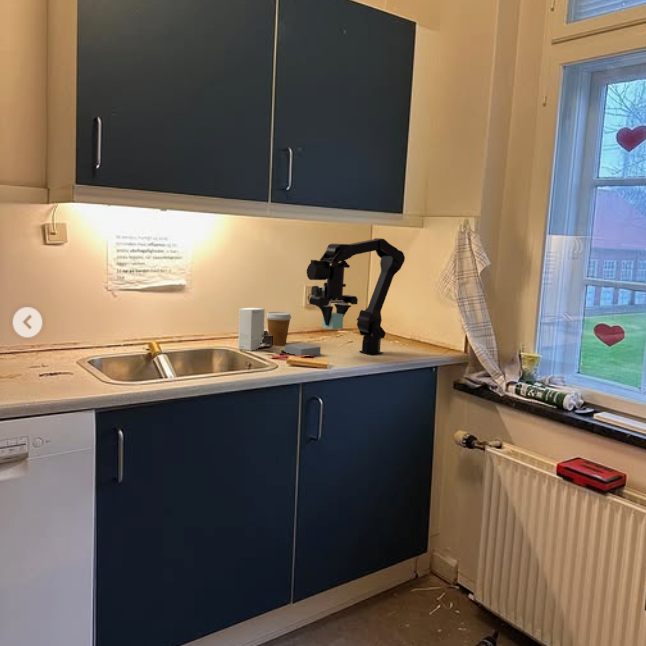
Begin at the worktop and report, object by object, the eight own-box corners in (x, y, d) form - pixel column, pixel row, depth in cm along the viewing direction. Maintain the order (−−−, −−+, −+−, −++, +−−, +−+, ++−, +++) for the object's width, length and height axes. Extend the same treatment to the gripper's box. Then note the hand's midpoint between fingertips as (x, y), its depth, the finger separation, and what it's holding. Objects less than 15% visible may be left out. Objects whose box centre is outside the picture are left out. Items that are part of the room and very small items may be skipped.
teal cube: (332, 326, 223) (333, 312, 222) (342, 328, 220) (343, 314, 219) (322, 327, 220) (323, 313, 219) (332, 329, 216) (333, 314, 215)
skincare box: (250, 351, 223) (252, 310, 221) (237, 349, 226) (238, 308, 224) (264, 348, 230) (265, 308, 228) (250, 346, 233) (252, 306, 231)
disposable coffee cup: (292, 343, 243) (293, 312, 241) (286, 347, 234) (288, 315, 232) (268, 341, 245) (269, 310, 243) (262, 345, 235) (263, 313, 234)
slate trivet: (303, 350, 229) (303, 342, 229) (320, 355, 223) (320, 346, 222) (284, 353, 223) (284, 344, 223) (300, 357, 216) (301, 349, 216)
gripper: (337, 278, 229) (334, 320, 232) (299, 278, 216) (297, 323, 219) (360, 281, 222) (357, 324, 224) (322, 281, 209) (319, 327, 211)
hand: (332, 324), depth 219 cm, fingers closed on teal cube, 5 cm apart
